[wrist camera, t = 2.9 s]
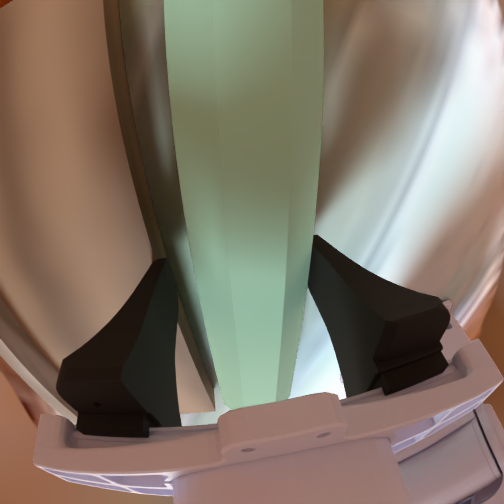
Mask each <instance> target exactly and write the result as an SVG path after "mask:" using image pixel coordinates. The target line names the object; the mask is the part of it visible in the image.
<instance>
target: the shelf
mask: <svg viewBox="0 0 504 504" xmlns="http://www.w3.org/2000/svg"><path fill="white" fill-rule="evenodd" d="M161 258H167V254H166V251H165V248H164V244H163V241H162V237H161V233H160V230H159V226H158V222H157V219H156V215H155V211H154V207H153V203H152V199H151V195H150V191H149V187H148V183H147V179H146V175H145V170H144V166H143V161H142V157H141V152H140V148H139V143H138V138H137V133H136V128H135V123H134V117H133V112H132V106H131V101H130V95H129V89H128V82H127V76H126V69H125V62H124V54H123V46H122V37H121V28H120V18H119V6H118V0H13V1H11V2H9V3H8V4H6V5H5V6H3V7H2V8H0V355H1V356H2V357H3V359H4V360H5V361H6V362H7V363H8V364H9V365H10V366H11V367H12V368H13V369H14V371H15V372H16V373H17V374H18V375H19V376H20V377H21V378H22V379H23V380H24V381H25V382H26V383H27V384H28V385H29V386H30V387H31V388H32V389H33V390H34V391H35V392H36V393H37V394H39V395H40V396H41V397H42V398H43V399H44V400H45V401H46V402H47V403H48V404H50V405H51V406H52V407H53V408H54V409H55V410H56V411H58V412H59V413H60V414H61V415H62V416H64V417H65V418H67V419H69V420H70V421H71V422H72V423H73V424H74V425H76V423H77V417H78V412H77V411H76V410H75V409H73V408H72V407H71V406H70V405H69V404H68V403H67V402H66V401H64V400H63V399H62V398H61V396H60V395H59V394H58V392H57V390H56V383H57V379H58V375H59V371H60V367H61V363H62V360H63V359H64V358H66V357H67V356H68V355H70V354H71V353H73V352H74V351H76V350H77V349H79V348H80V347H81V346H83V345H84V344H85V343H86V342H87V341H89V340H90V339H91V338H92V337H93V336H95V335H96V334H97V333H98V332H99V331H100V330H101V329H102V328H103V327H104V326H105V325H106V324H107V323H108V322H109V321H110V320H111V319H112V318H113V317H114V316H115V315H116V313H117V312H118V311H119V310H120V309H121V308H122V306H123V305H124V304H125V302H126V301H127V300H128V298H129V297H130V296H131V294H132V293H133V291H134V290H135V288H136V287H137V285H138V284H139V282H140V281H141V279H142V278H143V276H144V275H145V273H146V272H147V270H148V268H149V267H150V265H151V264H152V262H153V261H156V260H157V259H161ZM168 262H169V261H168ZM172 275H173V274H172ZM178 309H179V311H178V323H177V335H176V347H175V368H176V383H177V394H178V403H179V411H180V414H185V413H199V412H211V411H215V399H214V390H213V387H212V385H211V382H210V380H209V377H208V375H207V372H206V369H205V367H204V364H203V362H202V359H201V356H200V354H199V351H198V348H197V345H196V343H195V340H194V337H193V334H192V332H191V329H190V326H189V323H188V320H187V317H186V314H185V311H184V308H183V305H182V302H181V299H180V296H179V293H178Z"/></svg>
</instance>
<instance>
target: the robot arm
mask: <svg viewBox="0 0 504 504" xmlns="http://www.w3.org/2000/svg"><path fill="white" fill-rule="evenodd" d="M307 285H308V288H309V290H310V293H311V295H312V297H313V299H314V301H315V303H316V306H317V308H318V310H319V312H320V314H321V316H322V318H323V320H324V323H325V325H326V327H327V330H328V332H329V335H330V338H331V341H332V344H333V347H334V350H335V354H336V357H337V361H338V364H339V368H340V372H341V377H340V381H341V383H344V388H345V392H346V397H347V398H345V399H342V400H339V398H338V395H336V394H332V393H327V392H323V393H315V394H310V395H305V396H301V397H296V398H292V399H287V400H282V401H276V402H271V403H265V404H259V405H253V406H247V407H242V408H238V409H234V410H230V411H228V412H226V413H225V414H223V415H221V416H220V417H219V418H218V422H217V424H208V425H196V426H182V425H181V418H180V411H179V403H178V394H177V383H176V368H175V347H176V335H177V323H178V311H179V309H178V290H177V287H176V284H175V281H174V278H173V275H172V271H171V268H170V265H169V262H168V258H161V259H157V260H156V261H153V262H152V264H151V265H150V267H149V268H148V270H147V272H146V273H145V275H144V276H143V278H142V279H141V281H140V282H139V284H138V285H137V287H136V288H135V290H134V291H133V293H132V294H131V296H130V297H129V298H128V300H127V301H126V302H125V304H124V305H123V306H122V308H121V309H120V310H119V311H118V312H117V313H116V315H115V316H114V317H113V318H112V319H111V320H110V321H109V322H108V323H107V324H106V325H105V326H104V327H103V328H102V329H101V330H100V331H99V332H98V333H97V334H96V335H95V336H93V337H92V338H91V339H90V340H89V341H87V342H86V343H85V344H84V345H83V346H81V347H80V348H79V349H77V350H76V351H74V352H73V353H71V354H70V355H68V356H67V357H66V358H64V359H63V360H62V363H61V367H60V371H59V375H58V379H57V383H56V390H57V392H58V394H59V395H60V396H61V398H62V399H63V400H64V401H66V402H67V403H68V404H69V405H70V406H71V407H72V408H73V409H75V410H76V411H77V412H78V417H77V423H76V425H74V424H73V423H72V422H71V421H70V420H69V419H67V418H65V417H63V416H59V415H50V414H41V415H40V420H39V426H38V431H37V437H36V444H35V450H34V457H33V464H34V465H35V466H37V467H39V468H41V469H43V470H45V471H47V472H49V473H51V474H53V475H55V476H57V477H60V478H62V479H64V480H66V481H69V482H74V483H78V484H83V485H89V486H94V487H100V488H106V489H111V490H117V491H125V492H131V493H140V494H150V495H162V496H173V499H174V500H173V501H174V504H504V430H503V428H502V425H501V423H500V421H499V420H498V418H497V415H496V414H495V412H494V410H493V408H492V406H491V405H490V404H483V403H482V402H483V401H484V400H485V399H486V398H487V397H488V396H489V395H490V394H491V393H492V392H493V391H494V390H495V389H496V388H497V387H498V385H500V384H501V382H502V381H503V377H502V375H501V373H500V372H499V370H498V368H497V367H496V365H495V363H494V362H493V360H492V359H491V357H490V356H489V354H488V352H487V351H486V349H485V348H484V346H483V345H482V343H481V342H480V340H479V339H476V340H474V341H472V342H471V341H470V339H469V338H468V336H467V335H466V333H465V332H464V330H463V329H462V327H461V326H460V325H459V323H458V322H457V320H456V319H455V317H454V316H453V315H452V313H451V312H450V309H451V307H452V305H453V303H452V302H451V300H447V301H444V302H442V301H441V300H440V299H439V298H438V297H435V296H431V295H427V294H423V293H419V292H416V291H413V290H410V289H407V288H404V287H402V286H399V285H397V284H394V283H392V282H390V281H387V280H385V279H383V278H381V277H379V276H377V275H375V274H374V273H372V272H370V271H368V270H366V269H365V268H363V267H361V266H360V265H358V264H357V263H355V262H354V261H352V260H351V259H349V258H348V257H346V256H345V255H344V254H342V253H341V252H339V251H338V250H337V249H335V248H334V247H333V246H332V245H330V244H329V243H328V242H326V241H325V240H324V239H322V238H321V237H320V236H318V235H313V243H312V252H311V260H310V269H309V277H308V284H307Z"/></svg>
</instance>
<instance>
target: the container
mask: <svg viewBox="0 0 504 504" xmlns="http://www.w3.org/2000/svg"><path fill="white" fill-rule="evenodd" d="M164 21H165V42H166V58H167V72H168V84H169V96H170V106H171V116H172V126H173V135H174V143H175V151H176V159H177V167H178V175H179V182H180V189H181V196H182V202H183V209H184V215H185V222H186V228H187V234H188V240H189V245H190V251H191V257H192V262H193V268H194V273H195V278H196V284H197V289H198V294H199V299H200V304H201V309H202V313H203V318H204V323H205V327H206V332H207V337H208V341H209V345H210V350H211V354H212V358H213V363H214V367H215V371H216V375H217V379H218V383H219V387H220V391H221V395H222V399H223V403H224V405H226V406H227V407H229V408H230V409H232V410H234V409H238V408H242V407H247V406H253V405H259V404H265V403H271V402H276V401H282V400H287V399H288V397H289V396H290V392H291V386H292V381H293V375H294V370H295V364H296V358H297V352H298V346H299V340H300V333H301V327H302V320H303V313H304V306H305V299H306V292H307V284H308V277H309V269H310V260H311V252H312V243H313V233H314V224H315V213H316V203H317V191H318V179H319V165H320V150H321V133H322V112H323V81H324V8H323V0H164Z"/></svg>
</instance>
